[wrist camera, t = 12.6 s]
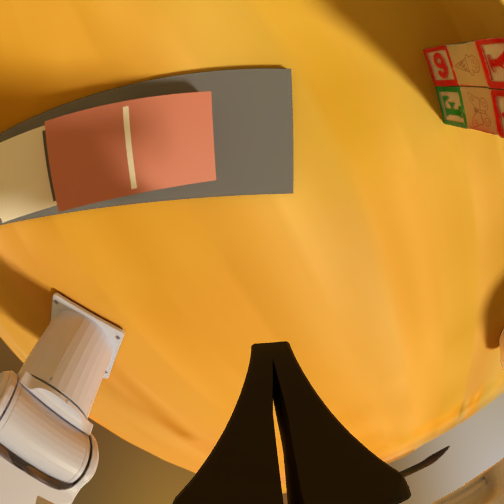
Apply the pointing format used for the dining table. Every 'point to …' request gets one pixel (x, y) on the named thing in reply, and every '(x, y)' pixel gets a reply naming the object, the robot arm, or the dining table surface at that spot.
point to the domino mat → (224, 131)
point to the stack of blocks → (470, 83)
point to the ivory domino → (25, 175)
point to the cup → (502, 348)
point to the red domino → (131, 148)
